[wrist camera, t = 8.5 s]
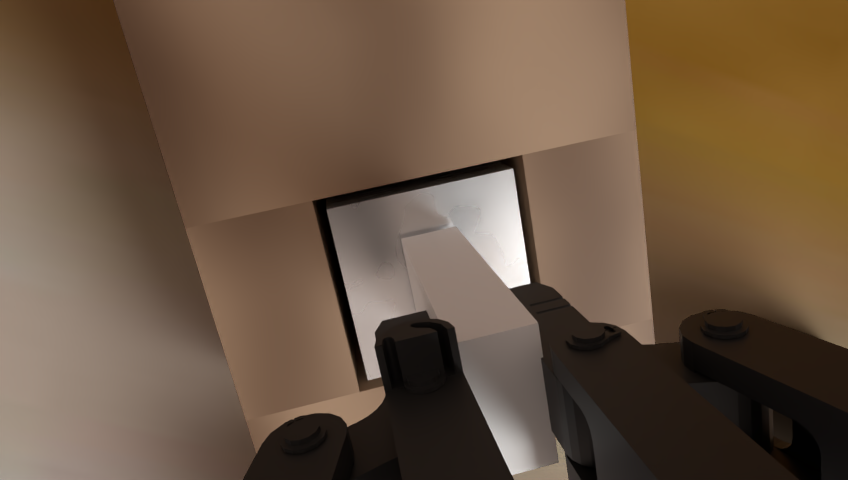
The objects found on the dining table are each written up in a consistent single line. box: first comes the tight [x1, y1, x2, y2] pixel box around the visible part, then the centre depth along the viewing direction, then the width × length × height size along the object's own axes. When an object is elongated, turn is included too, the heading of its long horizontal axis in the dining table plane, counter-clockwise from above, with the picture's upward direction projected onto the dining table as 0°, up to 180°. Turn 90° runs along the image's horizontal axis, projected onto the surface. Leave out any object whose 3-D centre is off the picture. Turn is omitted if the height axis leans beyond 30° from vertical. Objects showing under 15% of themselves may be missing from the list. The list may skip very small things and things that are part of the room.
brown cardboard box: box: [113, 0, 655, 454], centre depth 19 cm, size 12×24×8 cm, turn 11°
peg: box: [326, 160, 530, 380], centre depth 20 cm, size 5×5×7 cm
